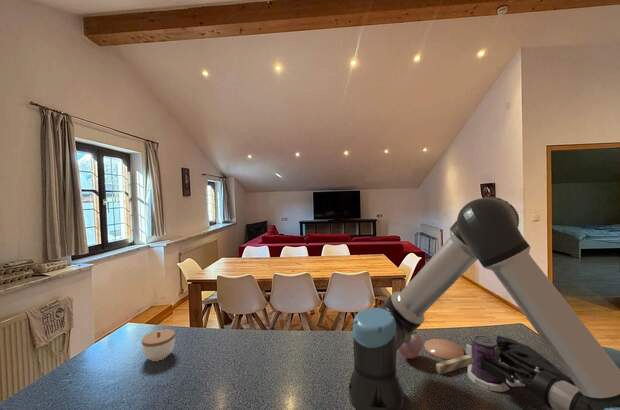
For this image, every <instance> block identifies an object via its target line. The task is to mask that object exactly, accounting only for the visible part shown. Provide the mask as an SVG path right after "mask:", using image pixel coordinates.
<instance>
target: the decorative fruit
mask: <svg viewBox="0 0 620 410" xmlns="http://www.w3.org/2000/svg"><path fill="white" fill-rule="evenodd" d="M422 347H423V340H422V339H421V337H420V335H419V334H418V333H417V331H416V330H415V331H414V332H413V333H412V334H411V335H410V336H409V337H408V338H407V339H406V340H405V342H404V343H403V344H402V345H401V346H400V348H399V349H398V350H397V351H398V352H399V353H400V354H401V355H402V356H403V357H404V358H406V359H410V360H411V359H415V358H417V357H418V356H419V354H420V352H421V350H422Z"/></svg>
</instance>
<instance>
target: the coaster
mask: <svg viewBox="0 0 620 410" xmlns="http://www.w3.org/2000/svg"><path fill="white" fill-rule="evenodd" d="M424 350H425V351H426V353H428V354H429V355H431V356H433V357H435V358H438V359H441V360H445V361H447V360H451V359H454V358H458V357H461V356H465V351H464V349H463V347H461V345H459V344H457V343H456V342H453V341H450V340H447V339H441V338H431V339H430V338H429V340H428V339H427V340H426V341H424Z"/></svg>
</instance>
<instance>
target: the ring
mask: <svg viewBox="0 0 620 410" xmlns="http://www.w3.org/2000/svg"><path fill="white" fill-rule="evenodd" d="M466 372H467V378H468V379H469V380H470V381H471V382H472V383H474V384H475V385H477V387H478V386H479V387H481V388H483V389H484V390H488V391H491V392H492V391H493V392H500V393H504V392H505V391H508V390H510V388H509V387H508V386H507V385H506V384H505V383H503V382H501V383H500V384H499V383H497V384H493V383H487V382H485V381H483V380H481V379H478V378H477V377H476V376H475V375H474V374H473V373H472V364H471V365H468V366H467V371H466Z"/></svg>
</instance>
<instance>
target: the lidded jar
mask: <svg viewBox="0 0 620 410" xmlns="http://www.w3.org/2000/svg"><path fill="white" fill-rule="evenodd" d="M175 340H176V332H175V330H173V329H169V328H165V329H164V328H163V329H159V330H155V331H152V332H150V333H147V334H146V335H144V336H143V337H142V339H141V344H142V351H143V354H144V356H145V357H146V358H147V359H148V360H150V361H151V360H152V361H151V362H153V361H156V362H159V361H158V360H161V361H163V360H165V359H167V358H168V357H169V356H170V354H171V353H172V352H173V351H174V347H175V345H176V344H175V343H176V341H175ZM168 355H169V356H168ZM167 356H168V357H167ZM166 357H167V358H166ZM164 358H165V359H164ZM162 359H163V360H162Z"/></svg>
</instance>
